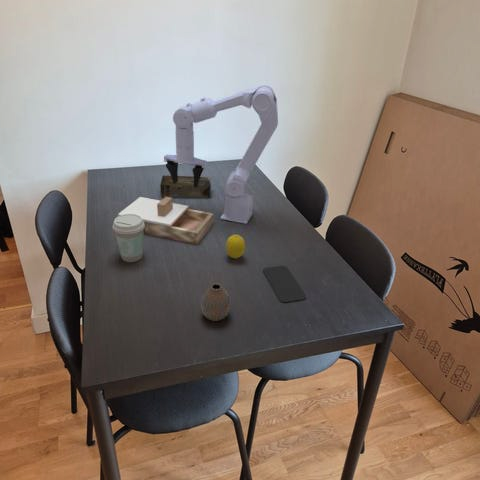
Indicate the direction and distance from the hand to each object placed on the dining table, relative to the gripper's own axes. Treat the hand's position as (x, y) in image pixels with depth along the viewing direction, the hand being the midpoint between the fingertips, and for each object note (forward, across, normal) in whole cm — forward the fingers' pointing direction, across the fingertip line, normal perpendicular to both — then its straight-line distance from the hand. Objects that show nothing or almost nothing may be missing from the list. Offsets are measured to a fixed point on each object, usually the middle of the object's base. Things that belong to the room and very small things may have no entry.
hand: (185, 184), depth 133 cm
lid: (+6, +6, +12) cm, 15 cm away
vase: (+11, -28, +47) cm, 56 cm away
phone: (+11, -41, +29) cm, 51 cm away
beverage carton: (+11, +6, -14) cm, 19 cm away
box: (+10, -3, +12) cm, 16 cm away
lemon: (+11, -25, +22) cm, 35 cm away
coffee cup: (+11, +3, +32) cm, 34 cm away
